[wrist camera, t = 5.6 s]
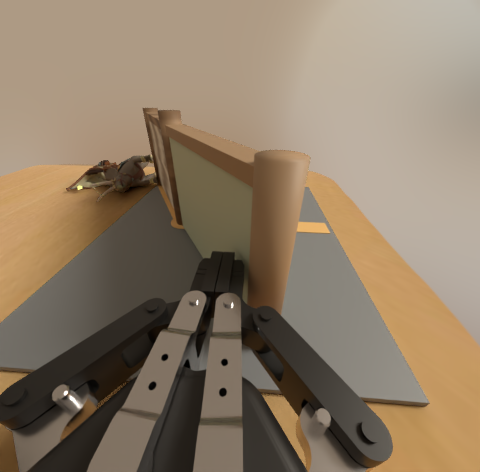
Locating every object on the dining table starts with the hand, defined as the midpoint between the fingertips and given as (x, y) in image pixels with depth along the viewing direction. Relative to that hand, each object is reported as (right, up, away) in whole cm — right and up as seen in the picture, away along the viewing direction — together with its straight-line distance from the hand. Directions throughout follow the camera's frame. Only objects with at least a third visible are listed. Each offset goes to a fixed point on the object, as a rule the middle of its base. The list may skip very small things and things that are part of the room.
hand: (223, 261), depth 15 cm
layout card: (-2, +2, +15) cm, 15 cm away
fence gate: (-1, -1, +8) cm, 8 cm away
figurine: (-24, +12, +30) cm, 40 cm away
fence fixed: (-11, +8, +23) cm, 27 cm away
